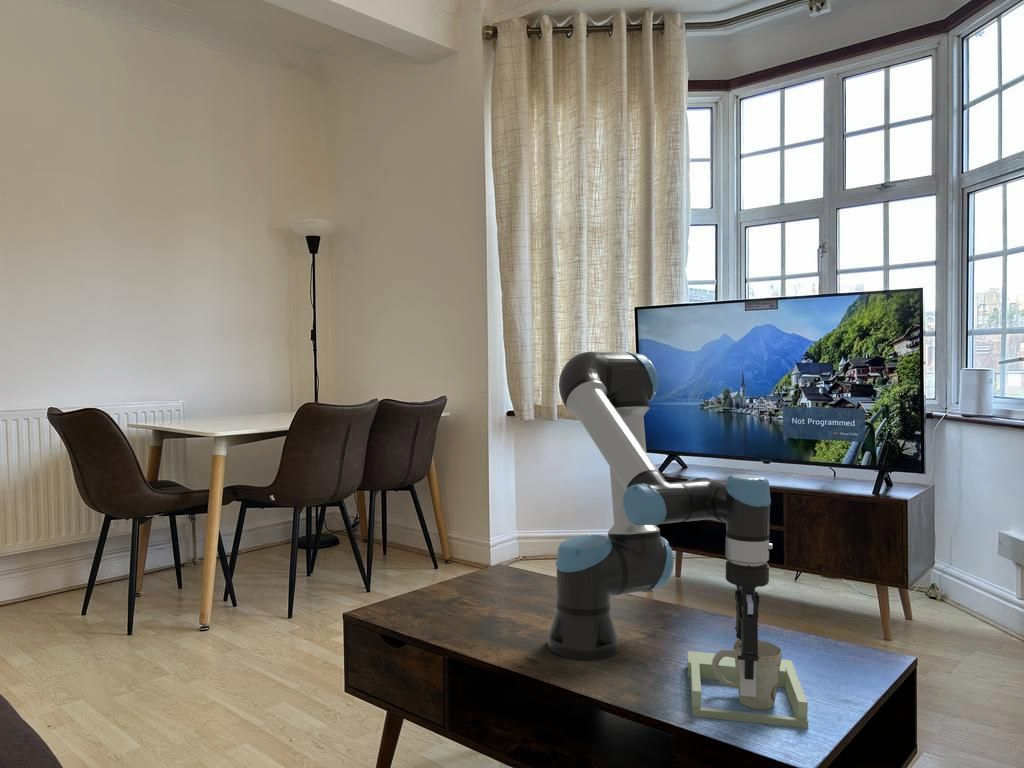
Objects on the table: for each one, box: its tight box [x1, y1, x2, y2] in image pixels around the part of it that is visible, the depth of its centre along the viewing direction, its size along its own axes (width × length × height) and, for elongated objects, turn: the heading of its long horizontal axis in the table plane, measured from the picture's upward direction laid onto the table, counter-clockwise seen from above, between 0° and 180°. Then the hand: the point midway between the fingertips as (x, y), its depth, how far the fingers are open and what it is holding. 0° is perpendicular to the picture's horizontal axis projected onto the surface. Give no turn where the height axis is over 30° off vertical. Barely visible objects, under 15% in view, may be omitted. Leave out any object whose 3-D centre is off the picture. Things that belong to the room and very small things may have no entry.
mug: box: [712, 639, 783, 711], centre depth 136 cm, size 8×13×10 cm, turn 58°
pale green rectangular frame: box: [687, 650, 809, 729], centre depth 138 cm, size 20×22×4 cm
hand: (745, 684), depth 135 cm, fingers closed on mug, 8 cm apart
